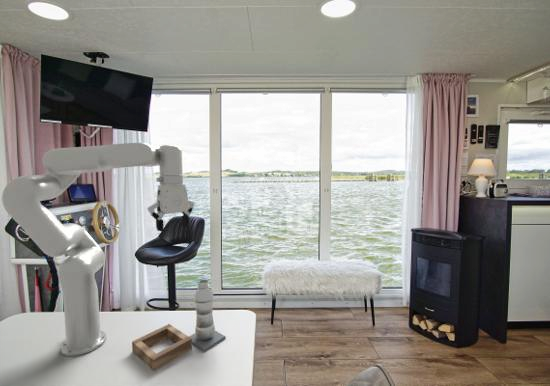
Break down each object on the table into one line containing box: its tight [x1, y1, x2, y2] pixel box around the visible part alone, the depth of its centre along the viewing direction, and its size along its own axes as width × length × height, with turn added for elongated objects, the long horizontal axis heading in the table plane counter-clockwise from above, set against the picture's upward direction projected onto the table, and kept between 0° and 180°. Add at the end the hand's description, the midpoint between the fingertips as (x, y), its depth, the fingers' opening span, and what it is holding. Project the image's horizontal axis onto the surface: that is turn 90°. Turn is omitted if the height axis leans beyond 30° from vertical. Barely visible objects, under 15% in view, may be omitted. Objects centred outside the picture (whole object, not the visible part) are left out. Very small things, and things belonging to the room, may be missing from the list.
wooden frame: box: [131, 323, 193, 372], centre depth 89 cm, size 14×13×4 cm
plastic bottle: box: [193, 278, 216, 340], centre depth 94 cm, size 6×7×20 cm
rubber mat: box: [189, 330, 226, 353], centre depth 94 cm, size 10×9×1 cm
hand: (173, 228), depth 97 cm, fingers open, 9 cm apart
